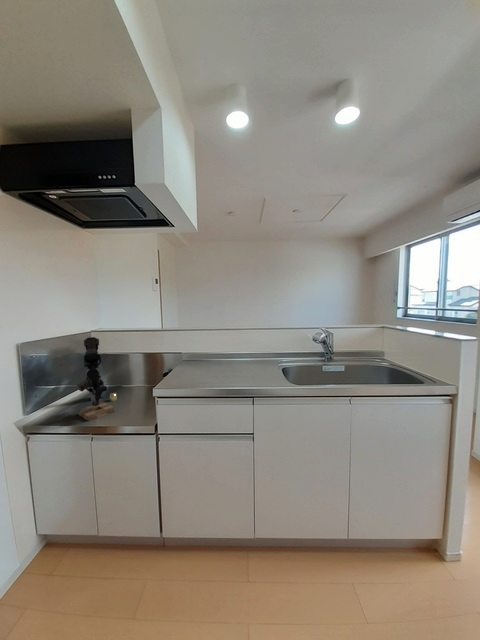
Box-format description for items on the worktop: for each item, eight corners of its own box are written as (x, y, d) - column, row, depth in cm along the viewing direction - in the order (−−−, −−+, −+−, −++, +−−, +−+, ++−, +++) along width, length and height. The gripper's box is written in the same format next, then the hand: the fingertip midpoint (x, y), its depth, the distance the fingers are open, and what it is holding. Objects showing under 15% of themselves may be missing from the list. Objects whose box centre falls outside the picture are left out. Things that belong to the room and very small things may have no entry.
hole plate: (78, 414, 149) (78, 410, 148) (103, 405, 160) (103, 401, 159) (88, 421, 140) (88, 416, 140) (114, 411, 151) (114, 407, 151)
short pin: (108, 400, 168) (108, 394, 168) (114, 398, 171) (114, 392, 171) (111, 401, 166) (111, 395, 165) (117, 399, 169) (117, 393, 168)
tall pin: (98, 402, 152) (96, 389, 151) (101, 404, 150) (100, 390, 149) (90, 404, 149) (89, 391, 148) (93, 406, 147) (92, 392, 146)
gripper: (71, 375, 147) (73, 401, 149) (84, 381, 136) (87, 410, 137) (92, 370, 156) (94, 395, 157) (106, 375, 144) (108, 403, 146)
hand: (95, 401), depth 149 cm, fingers closed on tall pin, 4 cm apart
